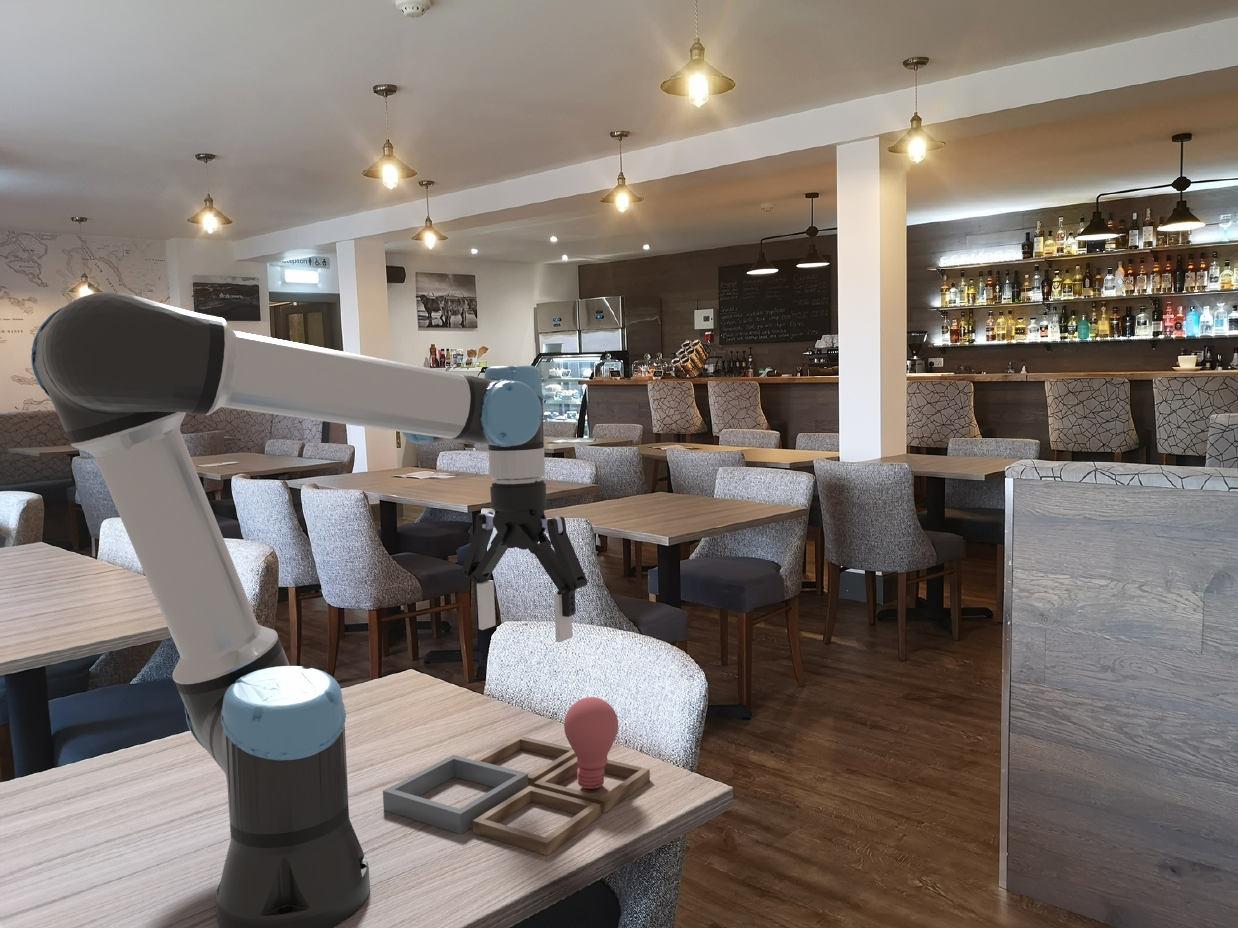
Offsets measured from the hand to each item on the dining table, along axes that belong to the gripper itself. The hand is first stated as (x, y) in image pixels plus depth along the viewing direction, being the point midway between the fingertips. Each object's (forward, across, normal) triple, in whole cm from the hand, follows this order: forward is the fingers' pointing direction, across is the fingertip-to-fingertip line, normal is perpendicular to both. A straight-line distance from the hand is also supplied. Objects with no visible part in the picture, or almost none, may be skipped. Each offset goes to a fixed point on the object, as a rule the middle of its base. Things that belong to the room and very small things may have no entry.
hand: (524, 633), depth 128 cm
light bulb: (+19, -11, +1) cm, 22 cm away
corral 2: (+19, +1, 0) cm, 19 cm away
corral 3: (+19, -11, +13) cm, 26 cm away
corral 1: (+19, +2, +13) cm, 23 cm away
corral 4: (+19, -11, +1) cm, 22 cm away
